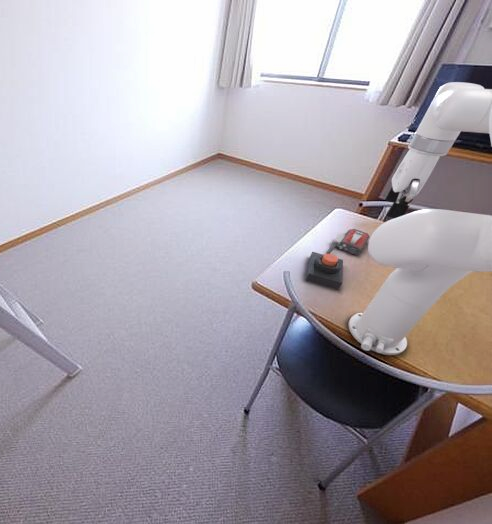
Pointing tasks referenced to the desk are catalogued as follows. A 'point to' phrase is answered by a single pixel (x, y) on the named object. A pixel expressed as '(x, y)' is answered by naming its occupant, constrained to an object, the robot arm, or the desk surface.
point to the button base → (324, 272)
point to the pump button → (329, 259)
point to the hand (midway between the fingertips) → (392, 209)
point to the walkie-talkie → (350, 241)
